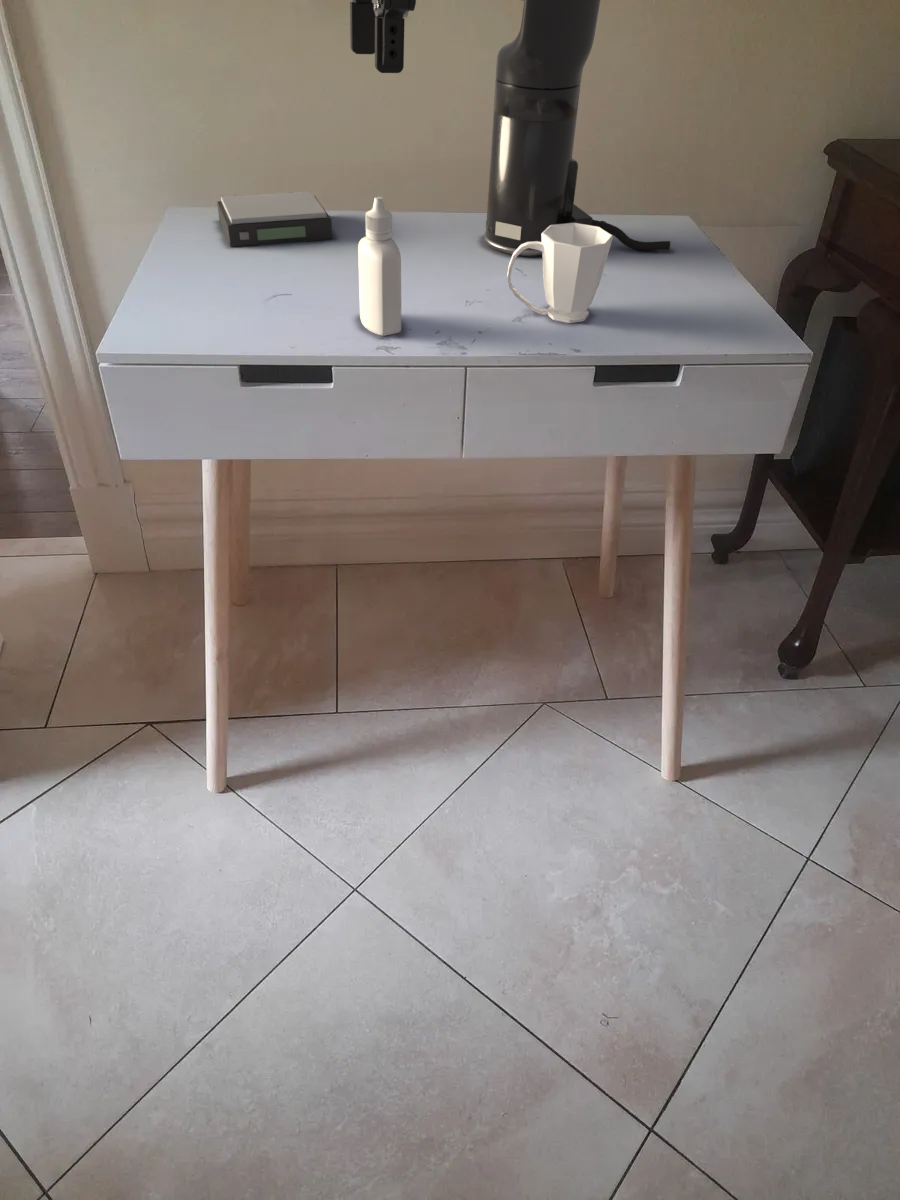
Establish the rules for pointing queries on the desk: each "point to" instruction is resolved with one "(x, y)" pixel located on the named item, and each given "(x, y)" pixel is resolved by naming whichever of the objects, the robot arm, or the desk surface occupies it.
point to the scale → (273, 218)
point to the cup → (568, 269)
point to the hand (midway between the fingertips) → (375, 62)
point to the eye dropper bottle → (379, 273)
